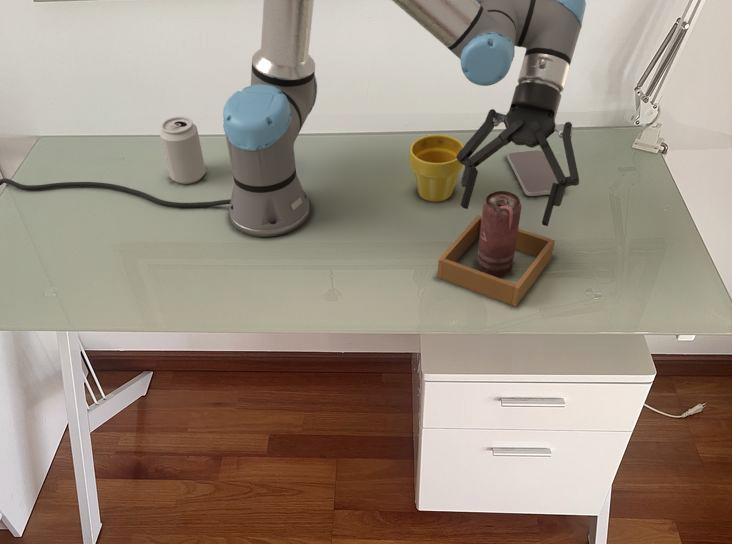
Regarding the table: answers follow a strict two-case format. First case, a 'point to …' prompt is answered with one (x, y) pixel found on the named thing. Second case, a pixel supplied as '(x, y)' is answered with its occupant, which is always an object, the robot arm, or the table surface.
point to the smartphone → (532, 172)
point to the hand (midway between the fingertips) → (503, 215)
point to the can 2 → (498, 233)
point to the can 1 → (182, 150)
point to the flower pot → (435, 165)
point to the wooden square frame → (487, 282)
